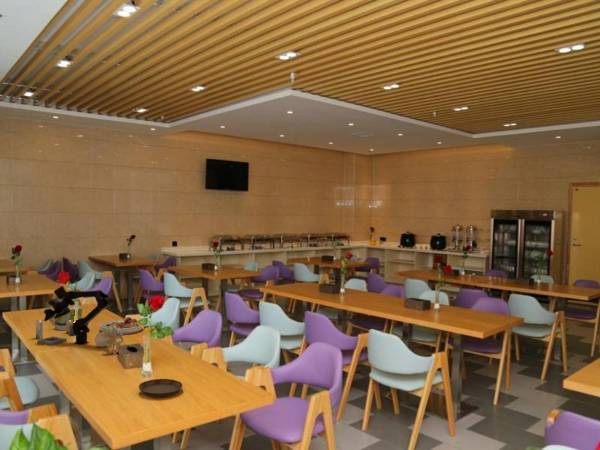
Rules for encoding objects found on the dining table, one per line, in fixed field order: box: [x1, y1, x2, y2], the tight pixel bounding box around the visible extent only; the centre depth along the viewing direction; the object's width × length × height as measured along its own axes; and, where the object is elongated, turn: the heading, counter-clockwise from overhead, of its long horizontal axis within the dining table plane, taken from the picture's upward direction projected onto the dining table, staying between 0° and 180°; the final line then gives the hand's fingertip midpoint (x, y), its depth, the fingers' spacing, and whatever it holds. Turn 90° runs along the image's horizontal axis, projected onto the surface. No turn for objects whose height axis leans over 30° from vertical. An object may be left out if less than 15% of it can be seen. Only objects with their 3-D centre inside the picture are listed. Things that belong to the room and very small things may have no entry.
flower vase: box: [94, 324, 124, 355], centre depth 316 cm, size 13×18×25 cm
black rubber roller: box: [69, 324, 76, 337], centre depth 349 cm, size 4×4×7 cm
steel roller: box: [35, 319, 44, 340], centre depth 338 cm, size 4×4×12 cm
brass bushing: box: [65, 320, 73, 335], centre depth 355 cm, size 4×4×9 cm
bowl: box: [99, 316, 143, 335], centre depth 367 cm, size 30×30×8 cm
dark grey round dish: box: [36, 335, 67, 347], centre depth 328 cm, size 12×12×2 cm
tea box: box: [54, 306, 83, 332], centre depth 369 cm, size 15×10×15 cm, turn 143°
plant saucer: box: [138, 378, 183, 398], centre depth 246 cm, size 21×21×3 cm
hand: (49, 319), depth 335 cm, fingers open, 9 cm apart
